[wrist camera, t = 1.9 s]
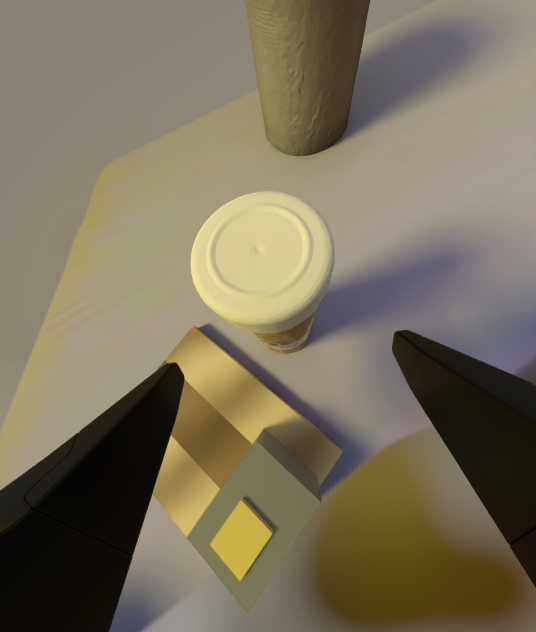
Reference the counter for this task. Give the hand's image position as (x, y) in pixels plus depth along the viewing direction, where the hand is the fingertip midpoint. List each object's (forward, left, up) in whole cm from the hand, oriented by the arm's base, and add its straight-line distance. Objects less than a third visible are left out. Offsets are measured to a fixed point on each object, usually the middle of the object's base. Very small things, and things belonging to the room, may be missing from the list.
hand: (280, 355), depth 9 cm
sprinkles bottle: (+2, -2, -10) cm, 11 cm away
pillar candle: (+15, -23, -10) cm, 29 cm away
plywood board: (+1, +9, -10) cm, 14 cm away
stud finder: (-4, +9, -9) cm, 13 cm away
